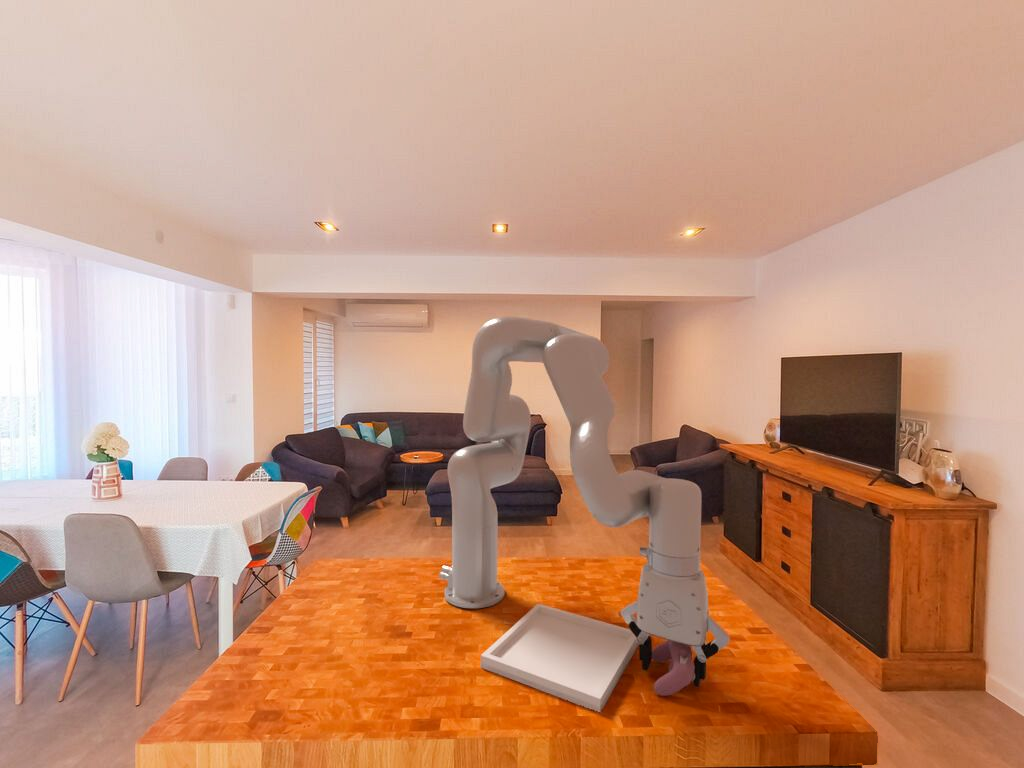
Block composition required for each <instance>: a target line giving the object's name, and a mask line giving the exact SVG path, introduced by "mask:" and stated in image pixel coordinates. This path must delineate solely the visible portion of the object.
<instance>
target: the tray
mask: <svg viewBox="0 0 1024 768" xmlns="http://www.w3.org/2000/svg"><path fill="white" fill-rule="evenodd" d="M638 647H639V643H638V642H637V638H636V636H635V635H634V634H633V632H632V631H631V630H630V629H629V628H626V627H622V626H620V625H616V624H613V623H610V622H605V621H602V620H597V619H594V618H591V617H587V616H584V615H581V614H576V613H573V612H570V611H566V610H562V609H559V608H555V607H552V606H548V605H545V604H540V603H537V604H536V605H534V606H533V607H532V608H531V609H530V610H529V611H528V612H527V613H526V614H524V616H522V617H521V618H520V619H519V620H518V621H516V623H514V624H513V626H512V627H510V628H509V629H508V630H507V631H506V632H505V633H504V634H503V635H502V636H500V637H499V638H498V639H497V640H496V641H495V642H494V643H492V645H490V646H489V647H488V648H487V649H486V650H485V651H484V652H483V653H481V654H480V668H481V669H483V670H485V671H489V672H492V673H494V674H496V675H500V676H501V677H504V678H507V679H510V680H513V681H514V682H517V683H521V684H523V685H525V686H528V687H531V688H534V689H535V690H538V691H541V692H543V693H547V694H549V695H551V696H554V697H556V698H557V697H558V698H559V699H562V700H564V701H567V700H568V701H567V702H571V703H573V704H575V705H577V706H580V705H582V706H581V707H583V706H584V707H583V708H586V709H588V708H589V709H588V710H591V709H593V710H595V711H594V712H596V711H598V712H597V713H599V712H600V713H601V712H602V711H603V708H604V707H605V705H606V703H607V701H608V700H609V698H610V696H611V695H612V693H613V691H614V689H615V687H616V686H617V684H618V682H619V681H620V678H622V675H623V673H624V672H625V670H626V668H627V666H628V665H629V663H630V661H631V659H632V658H633V656H634V654H635V652H636V650H637V649H638ZM593 710H592V711H593ZM601 710H602V711H601Z"/></svg>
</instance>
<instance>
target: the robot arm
mask: <svg viewBox="0 0 1024 768" xmlns="http://www.w3.org/2000/svg"><path fill="white" fill-rule="evenodd" d="M511 362H522V363H542V364H543V367H544V368H545V371H546V374H547V375H548V378H549V379H550V382H551V385H552V387H553V389H554V391H555V393H556V396H557V399H558V400H559V402H560V405H561V407H562V410H563V412H564V414H565V416H566V418H567V421H568V423H569V427H570V434H569V435H570V436H569V458H570V467H571V472H572V475H573V478H574V481H575V483H576V486H577V489H578V491H579V493H580V495H581V497H582V500H583V502H584V503H585V506H586V508H587V509H588V511H589V513H590V514H591V515H592V517H593V518H594V519H595V520H596V521H597V522H599V524H601V525H603V526H605V527H608V528H621V527H623V526H625V525H628V524H630V523H632V522H634V521H635V520H637V519H641V518H645V517H648V518H649V520H648V523H649V525H648V531H649V534H648V537H649V538H648V546H640V547H639V555H640V556H642V557H644V558H646V560H647V562H646V563H644V564H643V566H642V568H641V573H640V579H639V585H638V586H639V587H638V593H637V594H638V595H637V600H635V601H633V602H631V603H630V604H628V605H626V606H624V607H623V608H622V610H621V611H620V615H621V617H622V619H623V620H624V621H625V623H626V624H627V626H628V629H630V630H631V631H632V632H633V634H634V635H635V636H636V638H637V642H638V643H639V645H638V647H639V651H638V653H639V654H638V656H639V657H638V660H639V661H640V662H641V670H642V671H645V672H646V671H648V669H649V667H650V665H651V663H652V661H653V660H652V650H653V639H652V638H651V636H655V637H658V638H660V639H661V638H662V639H665V640H671V641H675V642H679V643H682V644H686V645H690V646H691V648H693V651H694V654H695V658H694V660H693V664H694V666H695V670H694V673H695V679H694V680H693V681H692V682H693V683H692V684H693V686H694V687H695V688H698V689H699V687H700V684H701V681H706V676H707V660H708V659H709V658H711V657H713V656H715V655H716V654H718V652H719V651H720V650H722V649H723V648H724V647H726V646H727V645H728V644H729V642H730V635H729V634H728V633H727V632H726V631H725V630H724V629H723V628H722V627H721V626H720V624H719V623H717V622H716V621H715V620H714V618H713V617H711V616H710V615H709V614H710V613H709V599H708V597H709V596H708V588H707V582H706V577H705V573H704V571H703V570H701V535H702V534H701V532H702V528H701V527H702V490H701V488H700V487H699V485H697V483H695V482H693V481H690V480H688V479H687V480H686V479H681V478H671V477H669V478H667V477H663V476H660V475H657V474H653V473H651V472H649V471H648V472H647V471H645V470H640V469H632V470H627V471H624V472H621V473H618V471H617V469H616V466H615V465H614V463H613V460H612V457H611V454H610V450H609V446H608V443H609V442H608V434H609V429H610V426H611V424H612V421H613V419H614V417H615V416H616V412H617V405H616V403H615V400H614V398H613V397H612V395H611V393H610V391H609V389H608V386H607V385H606V382H605V380H604V378H603V376H604V375H605V374H606V372H607V371H608V370H609V367H610V352H609V350H608V348H607V346H606V345H605V344H604V342H602V340H600V339H598V338H597V337H594V336H592V335H590V334H589V335H588V334H586V333H584V332H583V333H582V332H580V331H577V330H574V329H572V328H568V327H565V326H563V325H559V324H557V323H554V322H551V321H545V320H539V319H531V318H526V317H520V316H519V317H518V316H499V317H496V318H492V319H490V320H488V321H486V322H485V323H484V324H483V325H482V326H481V327H480V328H479V329H478V331H477V332H476V333H475V336H474V340H473V343H472V352H471V371H470V372H471V373H470V378H469V384H468V390H467V394H466V395H467V396H466V400H465V405H464V413H463V418H462V422H463V423H462V427H463V428H462V429H463V432H464V434H465V436H466V437H467V438H468V439H470V440H471V441H474V442H478V443H480V444H475V445H474V444H473V445H470V446H466V447H463V448H460V449H458V450H457V451H455V452H454V453H453V454H452V455H451V457H450V458H449V460H448V463H447V478H448V482H449V483H448V484H449V488H450V496H451V511H452V514H451V517H452V518H451V519H452V520H451V524H452V525H451V533H452V535H451V537H452V538H451V539H452V540H451V542H452V546H451V549H452V550H451V552H452V553H451V556H452V557H451V566H450V565H443V566H442V567H441V570H440V572H439V574H438V578H439V579H441V580H444V581H445V580H446V581H447V586H445V589H444V598H445V600H446V601H447V602H448V603H449V604H451V605H453V606H454V607H457V608H462V609H463V608H464V609H484V608H487V607H488V608H489V607H491V606H495V605H496V604H498V603H499V602H500V601H502V600H503V598H504V597H505V587H504V585H503V583H501V582H499V581H498V526H499V525H498V522H499V521H498V508H497V504H496V501H495V499H494V497H493V495H492V493H491V489H494V488H497V487H500V486H504V485H507V484H510V483H512V482H514V481H515V480H517V478H518V477H519V476H520V474H521V472H522V470H523V466H524V461H525V456H526V452H527V446H528V442H529V437H530V433H531V432H530V431H531V424H532V415H531V412H530V411H531V410H530V408H529V406H528V404H527V402H526V401H525V400H524V399H523V398H522V397H520V396H519V395H515V394H510V393H511V390H512V389H511V388H512V385H513V384H512V383H513V375H512V368H511V366H510V363H511ZM482 442H483V443H482ZM487 442H488V443H487ZM634 614H636V617H635V615H634ZM708 632H710V633H711V634H712V635H713V636H714V639H713V640H711V641H709V642H708V643H707V642H706V639H707V633H708ZM650 635H651V636H650Z"/></svg>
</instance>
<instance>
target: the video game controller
mask: <svg viewBox="0 0 1024 768" xmlns="http://www.w3.org/2000/svg"><path fill="white" fill-rule="evenodd" d="M651 661H653V662H655V663H666V662H669V661H670V662H669V665H668V672H667V673H665V674H664V675H662V676H661V677H659V678H658V679H657V680H656V681H655V683H654V685H653V691H654V692H655V693H656V694H657V695H658V696H661V697H664V696H666V697H667V696H671V695H674V694H676V693H678V692H679V691H681V690H682V689H683V688H685V687H687V686H689V684H690V683H691V682H693V680H694V679H695V673H694V670H695V666H694V662H693V650H692V646H690V645H686V644H682V643H679V642H675V641H671V640H668V639H666V640H665V641H663V642H662V643H660V644H657V646H655V647H654V648H652V660H651Z"/></svg>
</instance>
